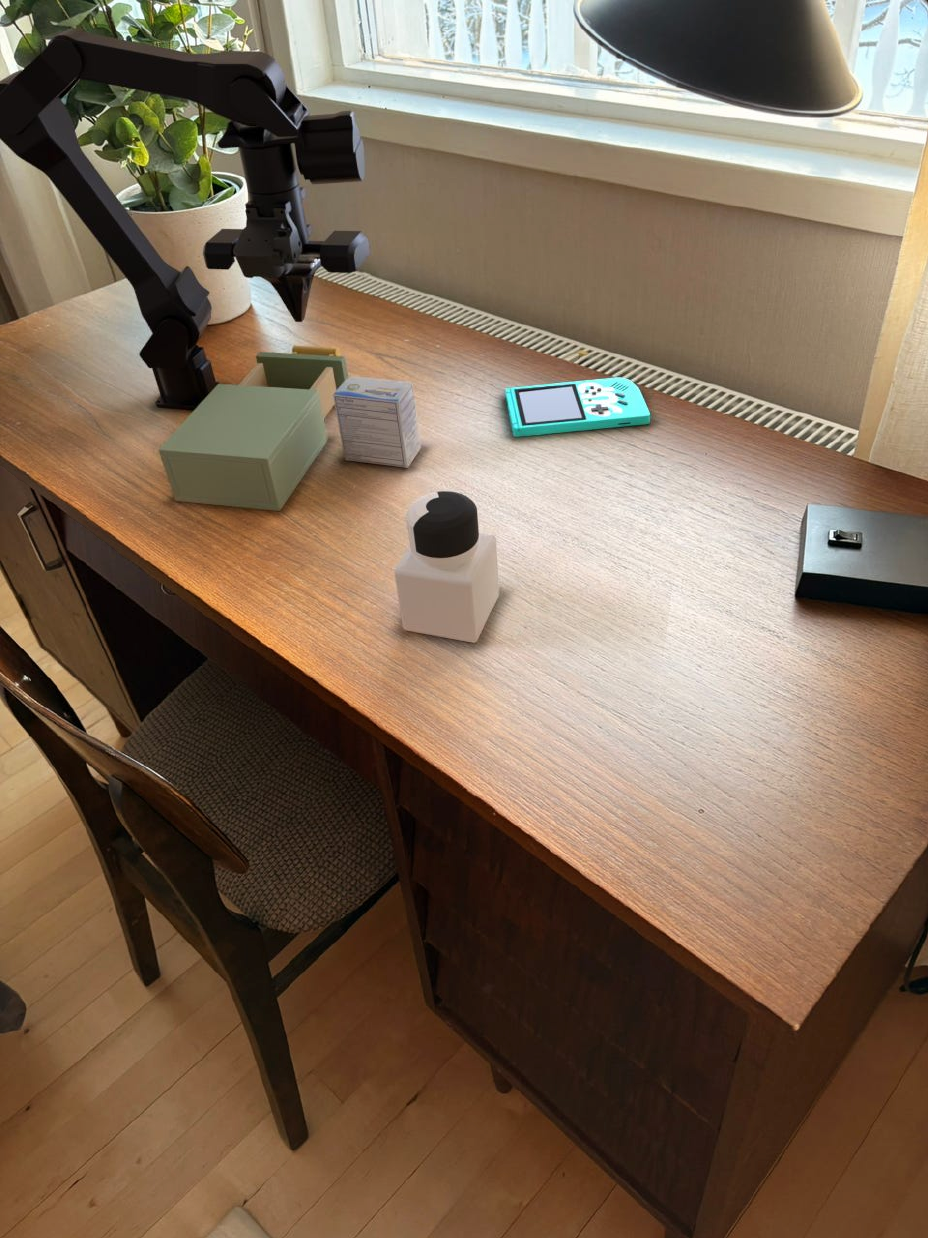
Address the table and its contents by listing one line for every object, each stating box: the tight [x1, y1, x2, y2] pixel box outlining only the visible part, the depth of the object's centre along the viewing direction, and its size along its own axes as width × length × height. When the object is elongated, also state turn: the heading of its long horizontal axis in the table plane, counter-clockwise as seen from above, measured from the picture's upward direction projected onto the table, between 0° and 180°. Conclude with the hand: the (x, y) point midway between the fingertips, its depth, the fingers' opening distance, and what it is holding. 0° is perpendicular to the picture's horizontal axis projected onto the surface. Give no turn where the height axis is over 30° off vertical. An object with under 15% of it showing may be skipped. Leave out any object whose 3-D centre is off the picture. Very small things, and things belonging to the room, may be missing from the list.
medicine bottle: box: [394, 490, 500, 644], centre depth 83 cm, size 7×7×12 cm
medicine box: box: [333, 375, 422, 469], centre depth 105 cm, size 8×4×9 cm, turn 70°
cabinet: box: [158, 383, 329, 512], centre depth 106 cm, size 15×13×7 cm
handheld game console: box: [504, 377, 651, 438], centre depth 112 cm, size 10×16×1 cm, turn 94°
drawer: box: [237, 345, 349, 419], centre depth 115 cm, size 18×11×5 cm, turn 165°
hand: (300, 320), depth 115 cm, fingers closed
